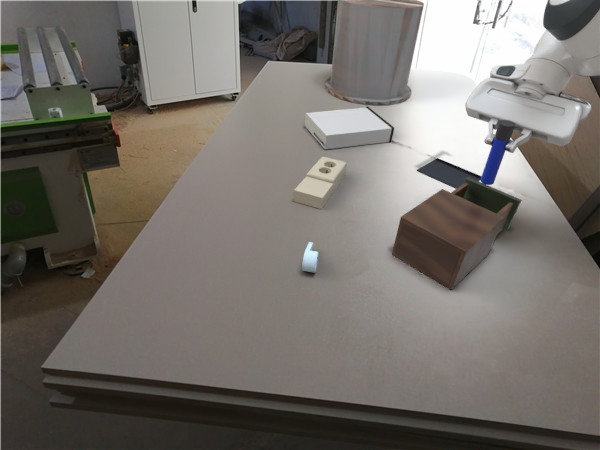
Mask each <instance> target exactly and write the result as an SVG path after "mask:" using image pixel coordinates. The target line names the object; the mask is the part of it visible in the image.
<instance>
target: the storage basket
mask: <svg viewBox="0 0 600 450" xmlns="http://www.w3.org/2000/svg"><path fill="white" fill-rule="evenodd" d="M424 6H425V3H424V2H422V1H420V0H337V7H336V8H337V9H336V18H335V28H334V29H335V30H334V38H333V39H334V40H333V51H332V62H331V71H330V77H328V78H327V79H326V80H325V82H324V90H325V91H326V92H327V93H328V94H329V95H331V96H332V97H334V98H337V99H338V100H342V101H344V102H348V103H353V104H357V105H358V104H359V105H364V106H391V105H392V106H393V105H399V104H401V103H405V102H407V101H408V100H409V99H410V98H411V95H412V89H411V87H410V86H409V85H408V83H409V78H410V73H411V67H412V63H413V58H414V54H415V50H416V45H417V40H418V35H419V30H420V24H421V21H422V16H423V12H424Z"/></svg>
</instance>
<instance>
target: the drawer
mask: <svg viewBox="0 0 600 450" xmlns="http://www.w3.org/2000/svg"><path fill="white" fill-rule="evenodd" d="M450 193H452V194H454V195H457V196H459V197H461V198H463V199H465V200H468V201H470V202H472V203H474V204H476V205H478V206H481V207H483V208H485V209H487V210H489V211H491V212H494V213H496V214H498V215H500V216H502V217H504V220H503V222H502V224H501V226H500V229H499V231H498V233H497V235H499V234H500V233H501V232H502V231H503V230H504V231H505V232H507V231H508V230H509V229H510V227H511V225H512V223H513V221H514V218H515V216H516V214H517V212H518V209H519V208H520V205H521V203H522V200H523V199H521V198H518V197H516V196H514V195H511V194H510V193H507V192H504V191H502V190H499V189H497V188H495V187H492V186H491V185H486V184H483V183H482V182H481V181H476V180H474V179H471V178H469V177H468V178H466V179H465V182H464V184H463V185H461V186H460V187H459V188H457V189H456V188H455V189H454V190H453V191H451V192H450Z"/></svg>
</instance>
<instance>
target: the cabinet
mask: <svg viewBox="0 0 600 450" xmlns="http://www.w3.org/2000/svg"><path fill="white" fill-rule="evenodd" d="M503 220H504V217H502V216H500V215H498V214H496V213H494V212H491V211H489V210H487V209H485V208H483V207H481V206H478V205H476V204H474V203H472V202H470V201H468V200H465V199H463V198H461V197H459V196H457V195H454V194H452V193H451V192H450V191H447V190H446V189H444V188H442V189H440V190H439V191H437V192H436V193H434V194H433V195H431V196H430V197H428V198H427V199H425V200H423V201H422V202H420V203H419V204H417V205H416V206H415V207H413V208H412V209H410V210H409V211H407V212H406V213H403V215H401V216H400V219H399V223H398V227H397V230H396V231H397V232H396V234H395V235H396V236H395V239H394V244H393V247H392V251H391V255H392V256H394V257H395V258H397V259H399V260H400V261H402V262H403V263H405V264H407V265H409V266H410V267H412V268H414V269H415V270H417V271H418V270H419V271H418V272H420V273H422V274H423V275H425V276H426V277H428V278H430V279H432V280H433V281H435V282H437V283H438V282H439V283H438V284H440V285H442V287H444V288H446V287H447V288H446V289H448V288H449V289H448V290H450V289H451V290H450V291H452V290H454V288H456V286H457V285H459V283H461V282H462V281H463V280H464V279H465V278H466V277H467V276H468V275H469V274H470V273H471V272H472V271H473V270H474V269H475V268H476V267H477V266H478V265H479V264H480V263H481V262H482V261H484V259H485V258H486V257H487V256H488V255H489V254H490V251H491V250H492V248H493V247H492V246H493V245H494V242H495V241H496V238H497V235H498V234H499V233H498V231H499V229H500V226H501V224H502V222H503ZM497 233H498V234H497ZM471 270H472V271H471ZM470 271H471V272H470ZM469 272H470V273H469ZM468 273H469V274H468ZM467 274H468V275H467ZM466 275H467V276H466ZM465 276H466V277H465ZM464 277H465V278H464Z"/></svg>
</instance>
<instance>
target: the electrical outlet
mask: <svg viewBox="0 0 600 450" xmlns="http://www.w3.org/2000/svg"><path fill="white" fill-rule="evenodd" d="M347 167H348V162H347V161H345V160H340V159H337V158H336V159H335V158H332V157H331V158H330V157H327V156H321V157H320V158H319V159H318V161H316V163H315V164H314V165H313V166H312V167H311V168H310V169H309V171H308V172H307V173H306V176H304V178H303V179H302V180H301V182H299V184H298V185H297V186H296V187H295V188H294V190H293V202H295V203H298V204H302V205H305V206H309V207H312V208H316V209H319V210H322V209H323V208H324V207H325V205H326V203H328V201H329V199H330V198H331V197H332V195H333V194H334V192H335V191H336V190H337V188H338V187H339V185H340V184H341V183H342V181H343V180H344V178H345V177H346V175H347Z"/></svg>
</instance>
